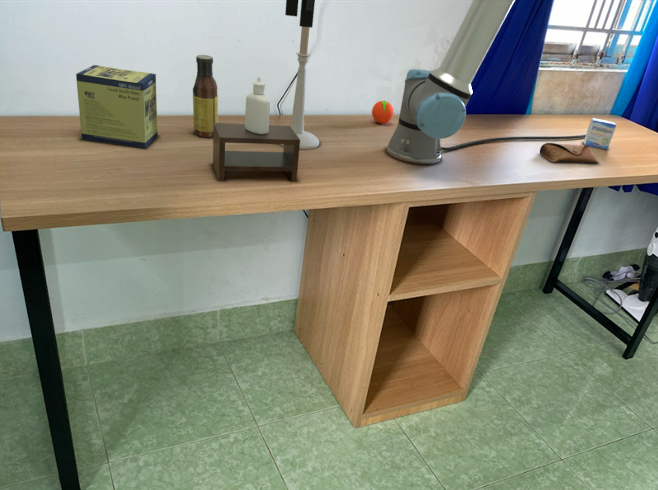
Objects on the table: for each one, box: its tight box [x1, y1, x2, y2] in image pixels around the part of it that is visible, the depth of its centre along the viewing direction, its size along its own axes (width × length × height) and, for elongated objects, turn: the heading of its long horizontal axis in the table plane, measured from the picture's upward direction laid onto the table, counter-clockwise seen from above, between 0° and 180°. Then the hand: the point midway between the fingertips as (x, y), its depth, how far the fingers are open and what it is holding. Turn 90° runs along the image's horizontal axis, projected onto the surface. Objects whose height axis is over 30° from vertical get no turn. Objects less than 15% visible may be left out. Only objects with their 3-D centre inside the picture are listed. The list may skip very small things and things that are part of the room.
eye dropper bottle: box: [244, 76, 271, 135], centre depth 137 cm, size 4×6×12 cm
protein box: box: [75, 64, 159, 149], centre depth 148 cm, size 10×16×16 cm
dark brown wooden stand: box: [212, 122, 300, 182], centre depth 143 cm, size 18×10×10 cm, turn 109°
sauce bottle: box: [192, 54, 219, 138], centre depth 158 cm, size 6×6×20 cm
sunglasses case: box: [539, 142, 600, 164], centre depth 192 cm, size 18×7×7 cm
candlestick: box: [278, 27, 320, 150], centre depth 162 cm, size 13×13×30 cm
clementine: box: [371, 100, 395, 125], centre depth 195 cm, size 8×7×7 cm
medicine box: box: [583, 117, 617, 151], centre depth 209 cm, size 8×4×9 cm, turn 76°
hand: (298, 21), depth 139 cm, fingers open, 13 cm apart
